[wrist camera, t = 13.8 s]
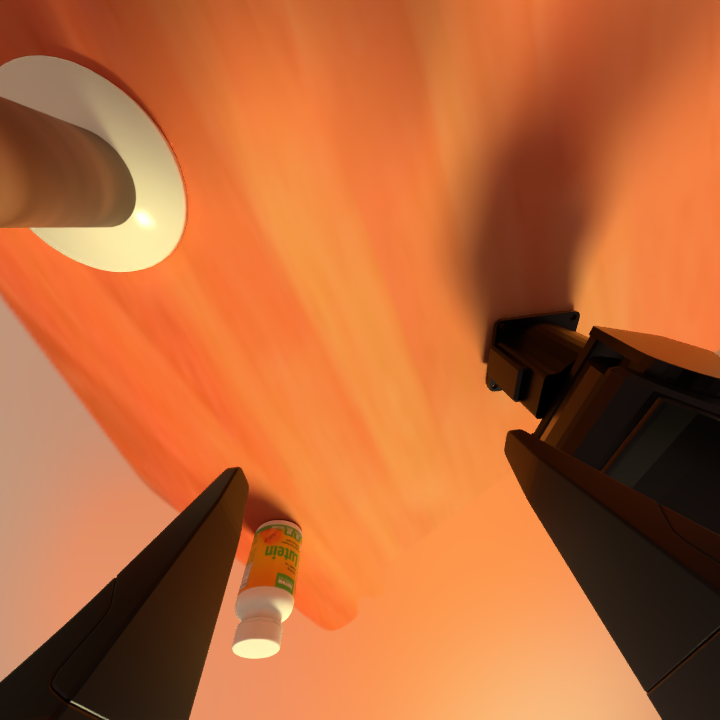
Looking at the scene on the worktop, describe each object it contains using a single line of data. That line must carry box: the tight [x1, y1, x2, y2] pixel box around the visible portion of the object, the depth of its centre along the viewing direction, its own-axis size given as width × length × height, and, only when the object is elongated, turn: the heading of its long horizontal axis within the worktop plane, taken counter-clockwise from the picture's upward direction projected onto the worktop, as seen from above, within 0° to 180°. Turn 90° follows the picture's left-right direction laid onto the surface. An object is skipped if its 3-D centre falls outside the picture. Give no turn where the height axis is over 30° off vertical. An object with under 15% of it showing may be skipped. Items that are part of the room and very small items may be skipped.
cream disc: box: [0, 55, 188, 272], centre depth 15 cm, size 10×10×1 cm
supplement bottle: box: [232, 520, 302, 659], centre depth 27 cm, size 5×5×10 cm
